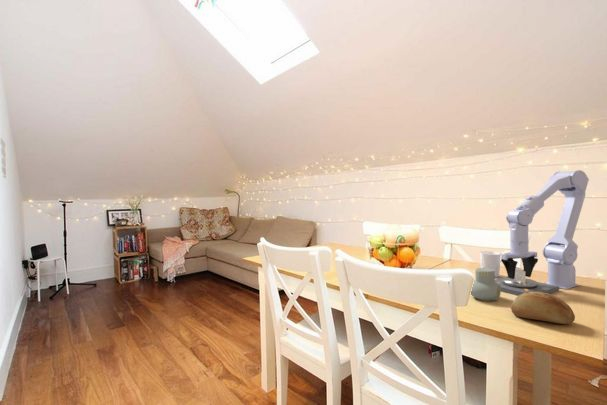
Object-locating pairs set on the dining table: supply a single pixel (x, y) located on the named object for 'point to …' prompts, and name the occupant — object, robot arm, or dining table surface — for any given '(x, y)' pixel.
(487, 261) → the white cup
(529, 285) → the dial
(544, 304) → the bread roll
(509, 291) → the dial base
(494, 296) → the air freshener
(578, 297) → the dining table surface
